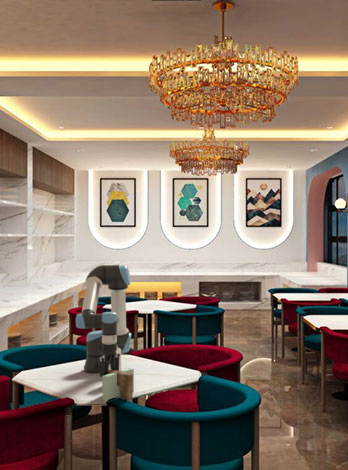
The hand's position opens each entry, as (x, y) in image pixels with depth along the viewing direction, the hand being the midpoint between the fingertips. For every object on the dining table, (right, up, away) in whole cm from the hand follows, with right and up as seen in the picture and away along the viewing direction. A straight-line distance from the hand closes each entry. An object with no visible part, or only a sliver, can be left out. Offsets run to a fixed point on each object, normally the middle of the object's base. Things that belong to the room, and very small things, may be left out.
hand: (109, 389), depth 274 cm
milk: (0, -3, +20) cm, 20 cm away
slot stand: (+5, -3, -4) cm, 7 cm away
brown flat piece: (+5, -3, -3) cm, 6 cm away
